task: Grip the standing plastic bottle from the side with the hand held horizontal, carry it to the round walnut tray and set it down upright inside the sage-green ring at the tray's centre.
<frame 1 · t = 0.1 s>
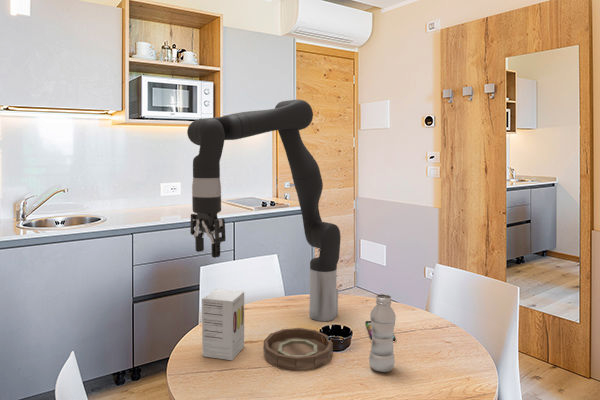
hand: (207, 254, 116), 29 cm above the table, tool pointing down, fingers open, 8 cm apart
supplement box: (224, 352, 123), on the table
walnut tray: (297, 353, 122), on the table
smartphone: (379, 333, 138), on the table
plastic bottle: (381, 369, 114), on the table
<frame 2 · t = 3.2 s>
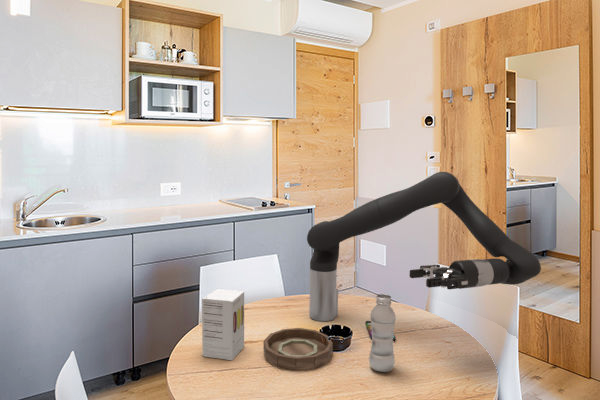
hand: (418, 278, 114), 24 cm above the table, tool horizontal, fingers open, 8 cm apart
nothing on the table moved.
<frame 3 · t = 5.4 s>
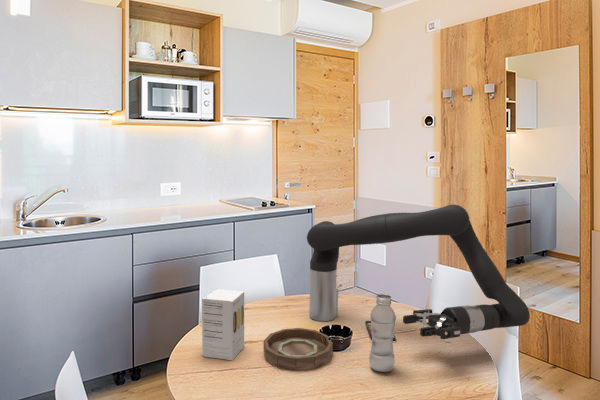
hand: (412, 326, 115), 11 cm above the table, tool horizontal, fingers open, 8 cm apart
nothing on the table moved.
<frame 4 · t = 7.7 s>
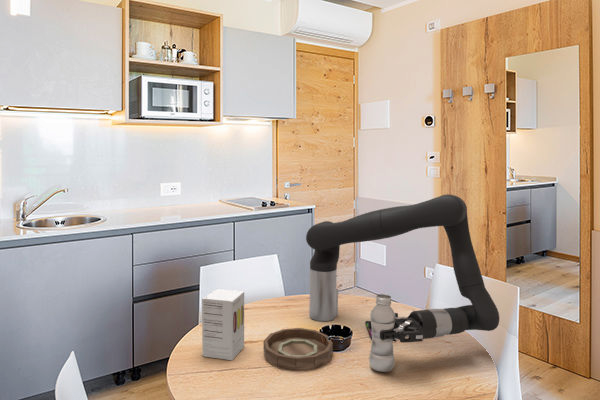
hand: (374, 330, 112), 11 cm above the table, tool horizontal, fingers closed on plastic bottle, 6 cm apart
plastic bottle: (381, 369, 114), on the table, touching gripper
everything else where it was.
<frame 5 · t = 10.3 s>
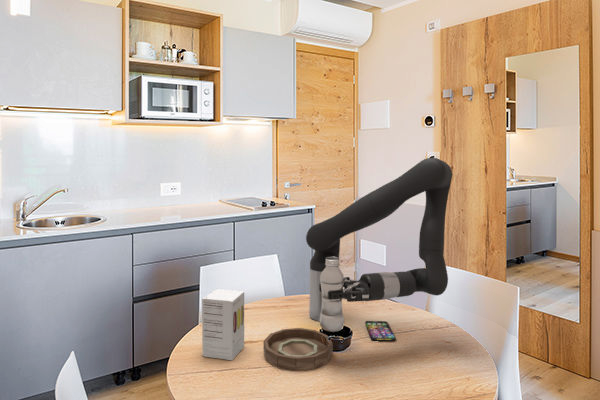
hand: (323, 291, 116), 20 cm above the table, tool horizontal, fingers closed on plastic bottle, 6 cm apart
plastic bottle: (331, 330, 118), point 8 cm above the table, touching gripper
everything else where it was.
when the fingers open (14 cm above the table, at t = 12.9 s): plastic bottle drops 1 cm, resting on walnut tray.
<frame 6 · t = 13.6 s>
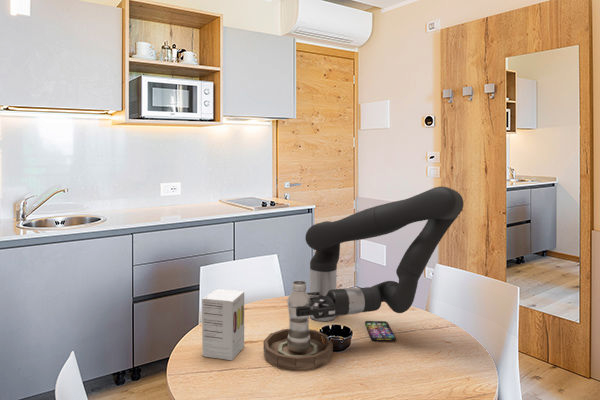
hand: (291, 306, 120), 14 cm above the table, tool horizontal, fingers open, 8 cm apart
plastic bottle: (298, 350, 122), point 1 cm above the table, touching walnut tray
everything else where it was.
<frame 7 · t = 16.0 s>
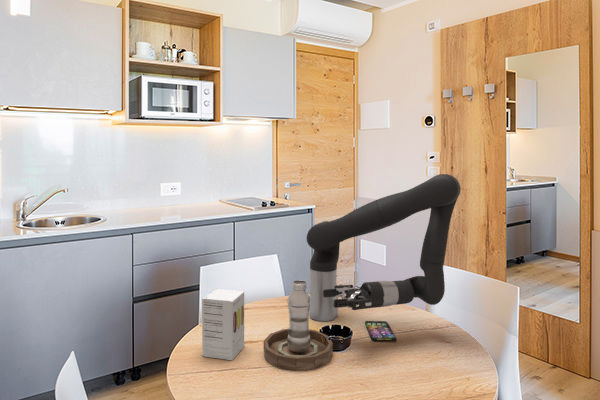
hand: (328, 298, 123), 15 cm above the table, tool horizontal, fingers open, 8 cm apart
nothing on the table moved.
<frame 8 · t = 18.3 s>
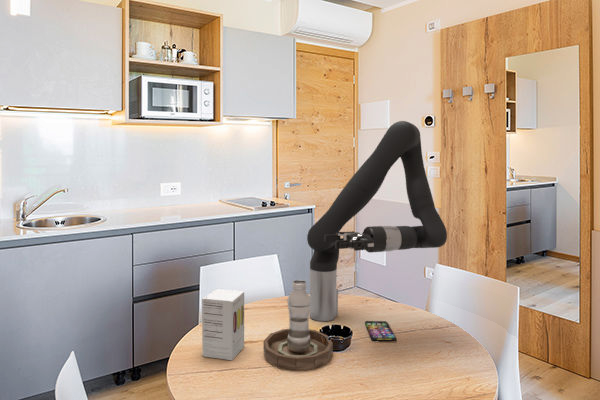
hand: (330, 241, 121), 32 cm above the table, tool horizontal, fingers open, 8 cm apart
nothing on the table moved.
at the end: plastic bottle 0.2 cm off-centre on the walnut tray, point 0.8 cm above the walnut tray's base; plastic bottle tilted 0°; the gripper is holding nothing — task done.
